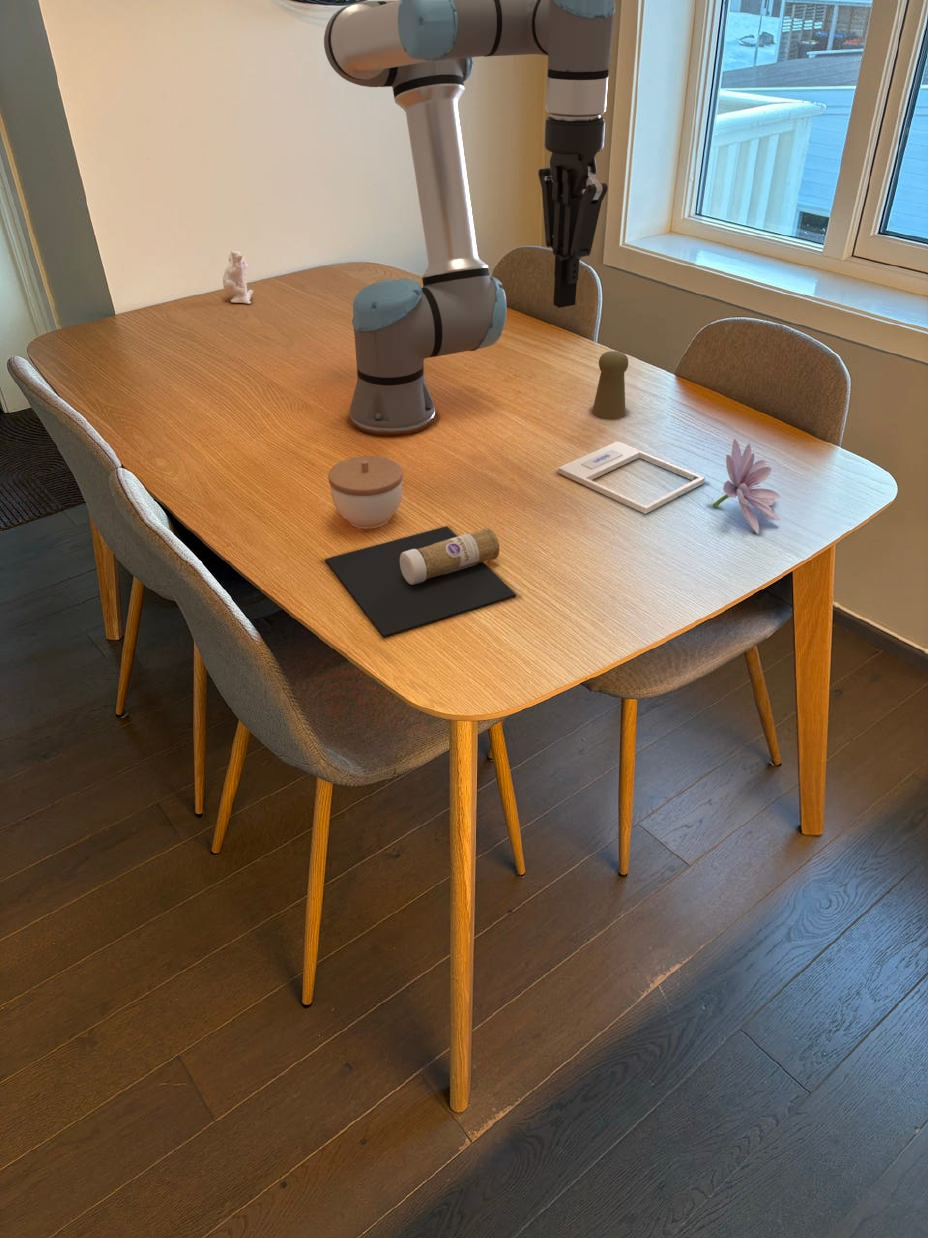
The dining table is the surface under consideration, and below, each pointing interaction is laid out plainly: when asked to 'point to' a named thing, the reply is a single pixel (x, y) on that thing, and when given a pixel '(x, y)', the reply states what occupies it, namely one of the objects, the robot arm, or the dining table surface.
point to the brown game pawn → (611, 386)
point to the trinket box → (366, 490)
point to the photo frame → (614, 458)
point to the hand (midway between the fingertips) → (564, 304)
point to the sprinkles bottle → (449, 556)
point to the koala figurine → (237, 278)
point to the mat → (412, 606)
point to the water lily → (748, 485)
